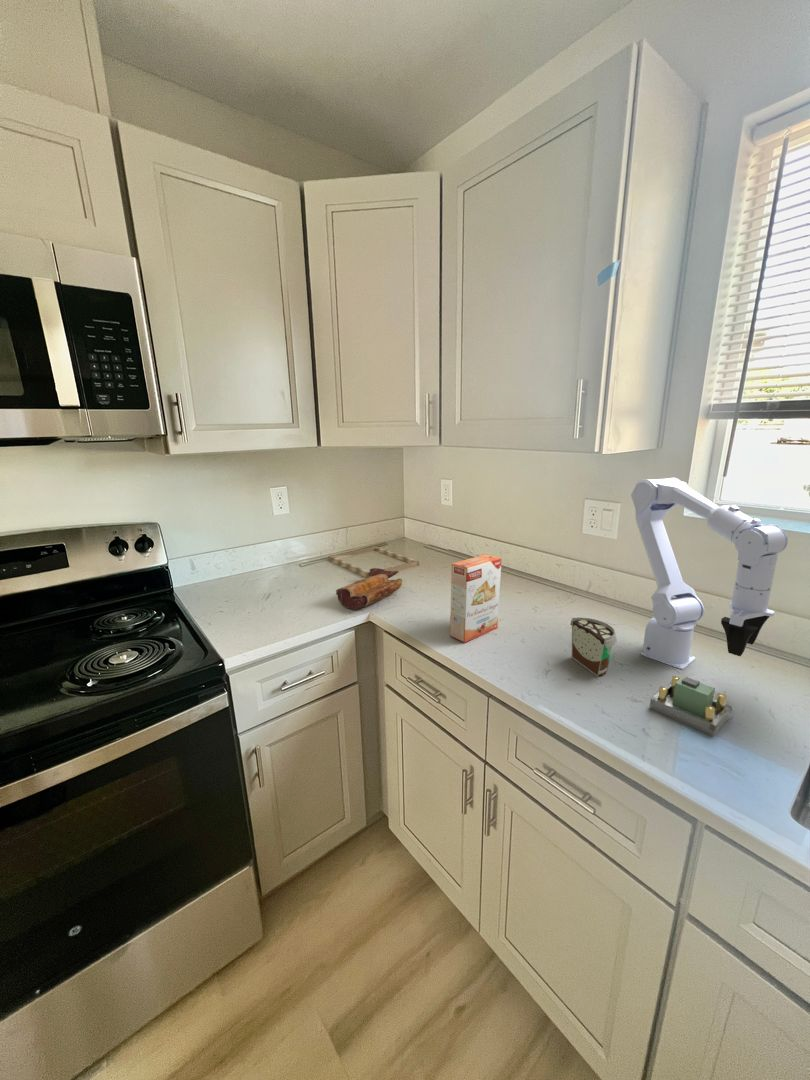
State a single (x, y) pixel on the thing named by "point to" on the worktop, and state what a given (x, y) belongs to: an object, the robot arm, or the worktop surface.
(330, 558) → the rim
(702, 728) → the chassis
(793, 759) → the worktop surface
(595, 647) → the food container
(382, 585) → the cured meat
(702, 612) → the robot arm
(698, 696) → the block
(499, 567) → the cracker box
